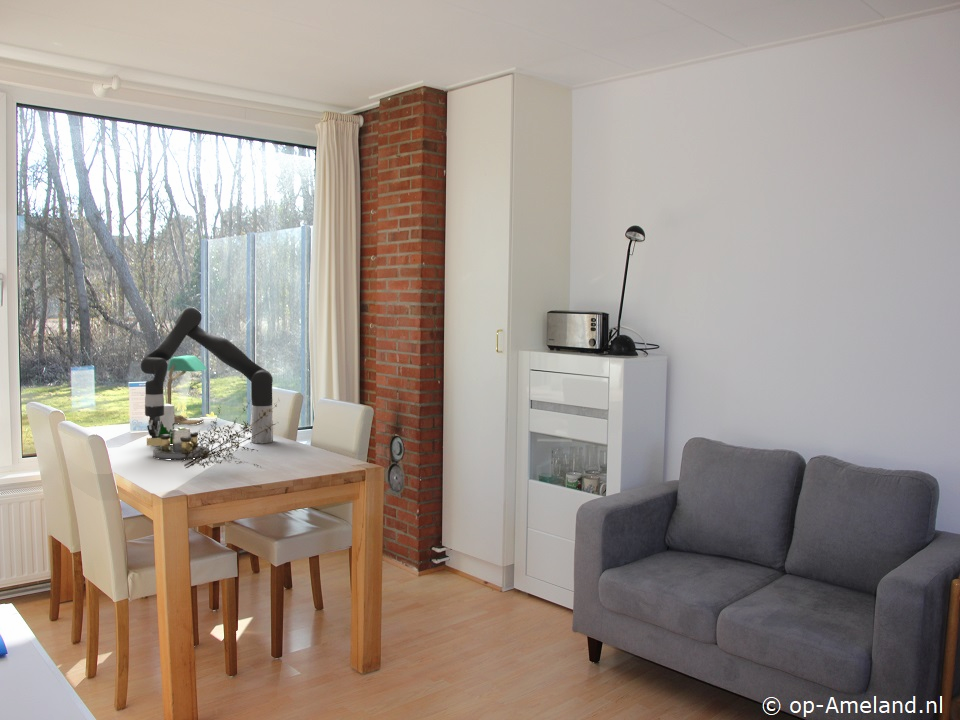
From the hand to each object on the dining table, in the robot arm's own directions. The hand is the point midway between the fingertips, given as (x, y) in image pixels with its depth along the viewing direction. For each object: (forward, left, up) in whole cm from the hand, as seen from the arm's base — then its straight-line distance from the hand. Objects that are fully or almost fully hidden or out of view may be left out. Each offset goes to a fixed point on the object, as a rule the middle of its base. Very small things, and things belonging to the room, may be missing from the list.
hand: (154, 444), depth 340 cm
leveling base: (-12, +4, -4) cm, 13 cm away
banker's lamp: (+9, -79, -4) cm, 80 cm away
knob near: (-14, -4, -1) cm, 15 cm away
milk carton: (+2, -19, -4) cm, 19 cm away
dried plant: (-39, +30, -4) cm, 49 cm away
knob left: (-17, +12, -1) cm, 21 cm away
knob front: (-3, +4, -1) cm, 5 cm away
